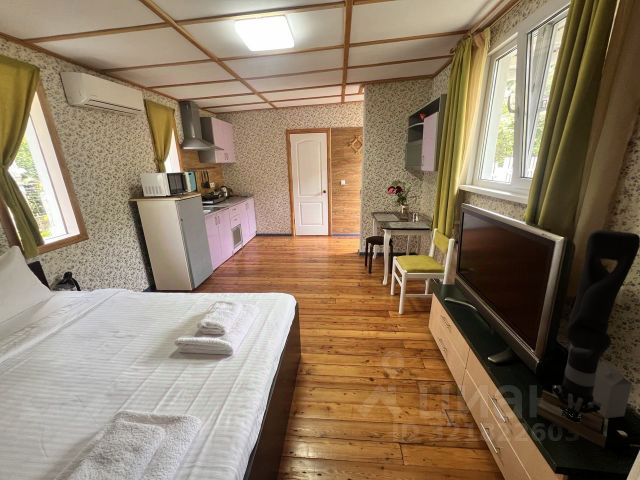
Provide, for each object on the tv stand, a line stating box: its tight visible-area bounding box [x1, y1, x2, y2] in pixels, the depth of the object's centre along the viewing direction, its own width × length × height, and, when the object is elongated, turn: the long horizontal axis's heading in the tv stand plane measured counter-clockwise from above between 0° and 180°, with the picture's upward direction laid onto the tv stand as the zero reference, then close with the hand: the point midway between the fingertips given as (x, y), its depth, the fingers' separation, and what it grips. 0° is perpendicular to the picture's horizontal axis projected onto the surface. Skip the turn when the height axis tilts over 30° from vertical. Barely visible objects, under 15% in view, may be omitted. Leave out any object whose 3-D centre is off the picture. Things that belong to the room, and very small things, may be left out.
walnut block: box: [579, 412, 603, 433], centre depth 92 cm, size 5×5×4 cm
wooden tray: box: [535, 389, 609, 448], centre depth 97 cm, size 10×18×4 cm, turn 41°
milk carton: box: [587, 361, 633, 419], centre depth 97 cm, size 7×7×19 cm
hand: (572, 416), depth 96 cm, fingers closed
